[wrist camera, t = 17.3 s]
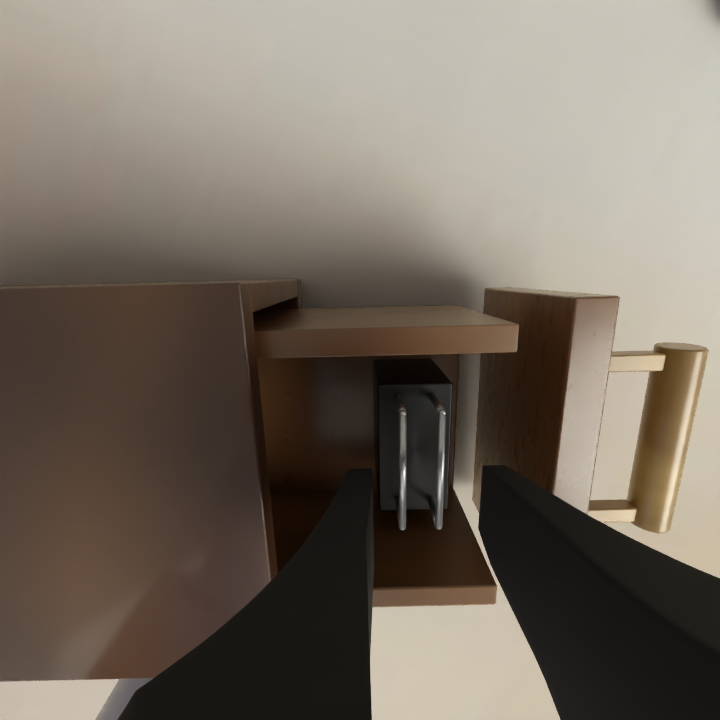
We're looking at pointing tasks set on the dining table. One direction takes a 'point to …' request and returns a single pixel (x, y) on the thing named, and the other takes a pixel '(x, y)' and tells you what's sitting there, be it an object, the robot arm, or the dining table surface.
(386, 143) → the dining table surface
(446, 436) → the binder clip
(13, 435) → the cabinet
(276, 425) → the drawer
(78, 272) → the dining table surface
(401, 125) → the dining table surface
